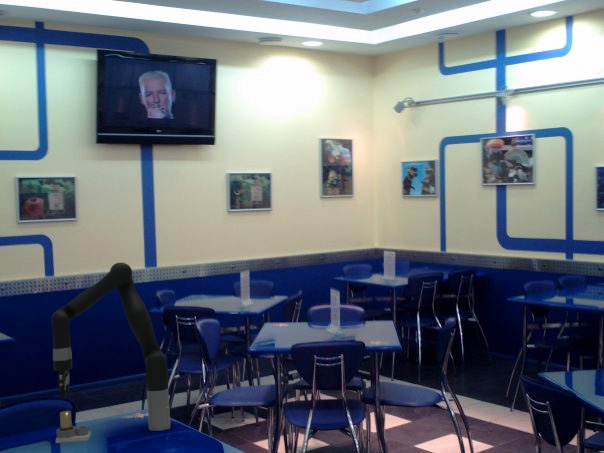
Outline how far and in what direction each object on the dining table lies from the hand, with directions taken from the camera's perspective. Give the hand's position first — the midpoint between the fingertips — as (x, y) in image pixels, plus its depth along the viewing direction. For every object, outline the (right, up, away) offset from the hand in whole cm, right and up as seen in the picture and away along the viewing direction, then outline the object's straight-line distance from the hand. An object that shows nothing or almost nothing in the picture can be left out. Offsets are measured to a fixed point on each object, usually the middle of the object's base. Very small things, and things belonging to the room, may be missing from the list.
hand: (64, 396), depth 326 cm
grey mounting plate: (+3, -18, 0) cm, 18 cm away
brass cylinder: (+1, -17, 0) cm, 17 cm away
